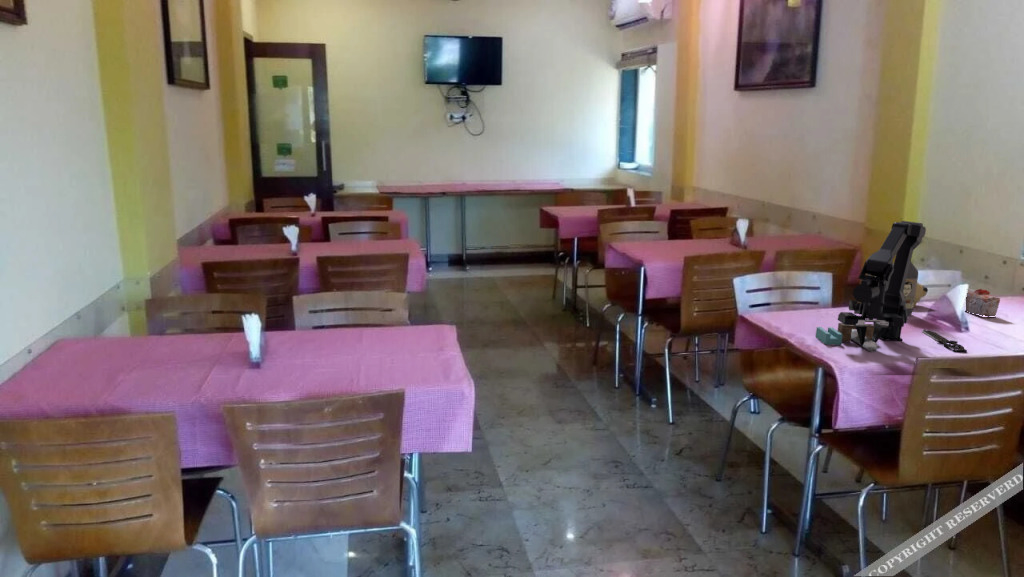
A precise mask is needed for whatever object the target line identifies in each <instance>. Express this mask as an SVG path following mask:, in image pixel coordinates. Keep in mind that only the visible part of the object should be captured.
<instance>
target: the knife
mask: <svg viewBox="0 0 1024 577" xmlns="http://www.w3.org/2000/svg"><path fill="white" fill-rule="evenodd" d="M921 332H922V333H924V334H925V335H927V336H928V337H930V338H932V339H933V340H935V341H936V344H939V345H943V346H944V347H943V346H942V347H943V348H945V349H947V350H948V349H949V348H950V349H952V350H951V352H953V353H963V354H965V353H967V352H968V350H967V349H965V347H964V346H963V345H961V344H959V343H958V341H956V340H949V339H947V338H946V337H944V336H942V335H941V334H939V333H937V332H936V331H933V330H928V329H927V330H926V329H923V330H922V331H921ZM947 343H950V344H947ZM951 344H954V345H951Z"/></svg>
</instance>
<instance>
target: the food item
mask: <svg viewBox="0 0 1024 577" xmlns="http://www.w3.org/2000/svg"><path fill="white" fill-rule="evenodd" d="M967 290H968V293H967V297H966V311H968V312H970V313H974V314H979V315H982V316H983V315H985V316H995V315H996V316H997V312H998V309H999V305H1000V303H1001V302H1000V301H1001V298H1000V297H997V296H994V295H990V291H988V289H982V288H980V289H972V288H969V289H967ZM966 311H965V312H966ZM968 312H967V313H968Z"/></svg>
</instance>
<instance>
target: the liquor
mask: <svg viewBox="0 0 1024 577" xmlns="http://www.w3.org/2000/svg"><path fill="white" fill-rule="evenodd" d="M893 265H894V263H893ZM918 279H919V270H918V269H917V268H916V266H915V264H914V263H913V262H912V261H911V262H910V266H909V270H908V274H907V278H906V282H905V286H904V290H903V295H904V297H905V300H906V305H905V306H906V309H907V313H908V317H910V316H911V315H912V313H913V312H914V311H913V310H914V307H913V305H914V299H915V293H916V286H917V282H918ZM889 281H890V279H889ZM889 281H888V282H887V283H886V290H887V289H888V285H889ZM886 290H885V291H886Z"/></svg>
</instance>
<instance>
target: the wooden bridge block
mask: <svg viewBox="0 0 1024 577" xmlns="http://www.w3.org/2000/svg"><path fill="white" fill-rule="evenodd" d="M837 325H838V326H837V331H838V332H840V333H841V334H843V335H842V342H851V340H852V339H851V333H852V329H855V330H856V327H855V326H854V325H845V324H843V323H842V322H838V324H837ZM865 326H867V330H866V335H865V336H866V337H867V338H869V339H870V340H872V336H873V331H874V324H873V323H865Z"/></svg>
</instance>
